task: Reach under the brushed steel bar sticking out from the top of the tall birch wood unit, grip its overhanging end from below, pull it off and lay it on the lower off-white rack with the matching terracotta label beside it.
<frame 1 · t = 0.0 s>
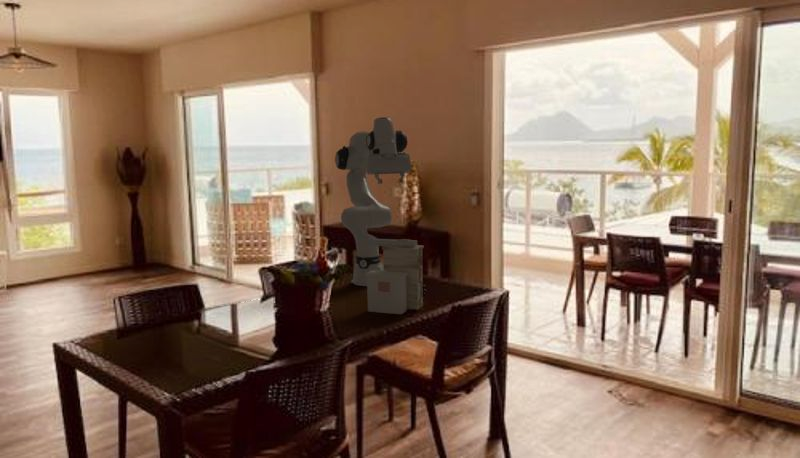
hand: (390, 183, 261), 52 cm above the table, tool tilted 20°, fingers open, 8 cm apart
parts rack: (387, 311, 251), on the table
valve: (411, 299, 271), on the table
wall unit: (403, 306, 258), on the table
bar: (391, 245, 256), point 26 cm above the table, touching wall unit
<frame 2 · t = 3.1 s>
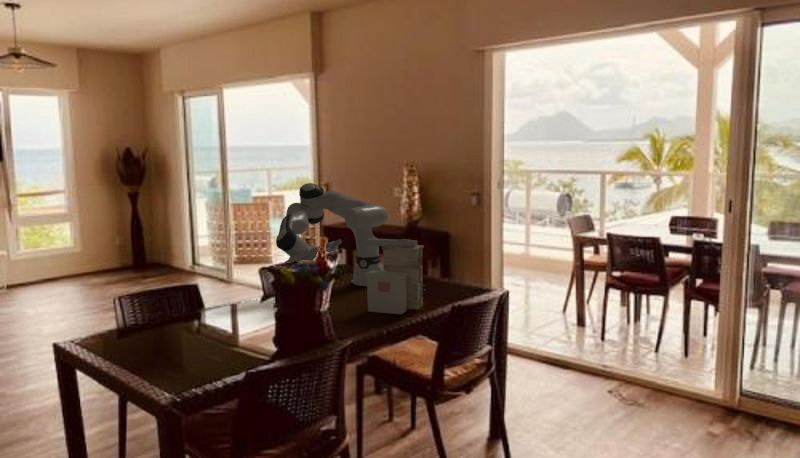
hand: (335, 242, 265), 26 cm above the table, tool pointing upward, fingers open, 8 cm apart
nothing on the table moved.
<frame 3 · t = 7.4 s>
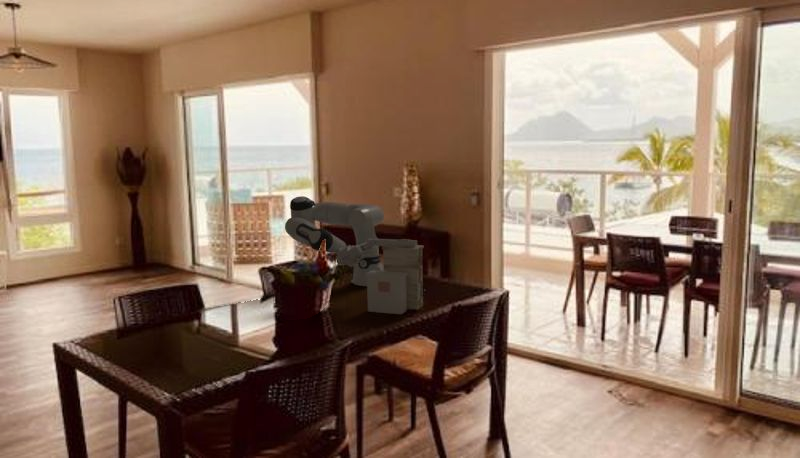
hand: (375, 241, 259), 28 cm above the table, tool pointing upward, fingers closed on bar, 3 cm apart
bar: (391, 245, 256), point 26 cm above the table, touching gripper, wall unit
everything else where it was.
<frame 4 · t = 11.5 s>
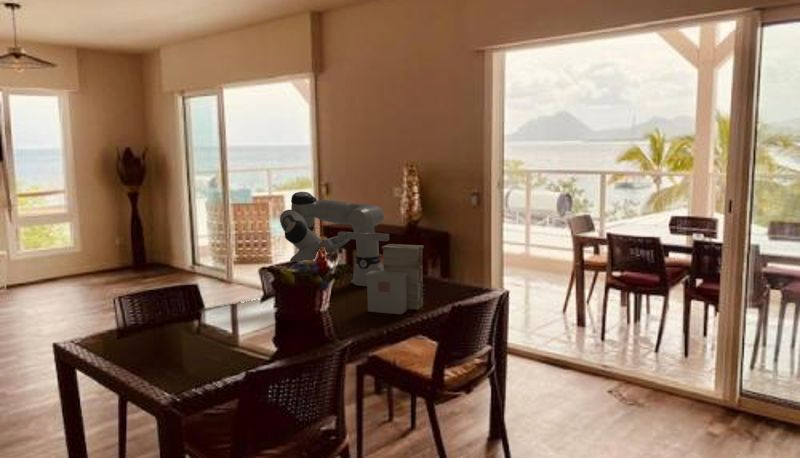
hand: (347, 234, 253), 32 cm above the table, tool pointing upward, fingers closed on bar, 3 cm apart
bar: (363, 239, 250), point 30 cm above the table, touching gripper
everything else where it was.
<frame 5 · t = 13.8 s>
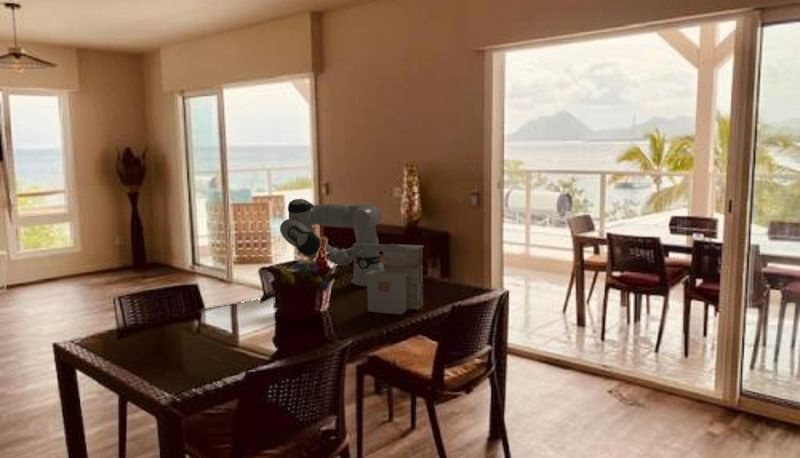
hand: (362, 245, 251), 27 cm above the table, tool pointing upward, fingers closed on bar, 3 cm apart
bar: (378, 250, 249), point 25 cm above the table, touching gripper
when the fingers open (19 cm above the table, at t = 15.8 s): bar drops 1 cm, resting on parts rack.
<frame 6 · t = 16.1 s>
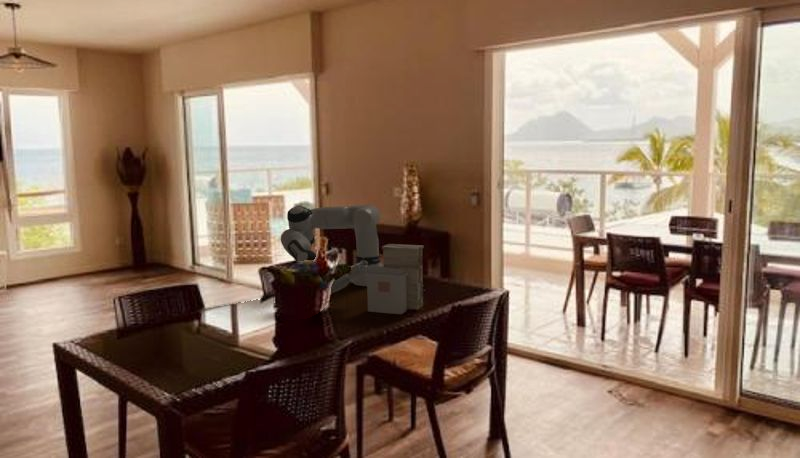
hand: (363, 264, 252), 19 cm above the table, tool pointing upward, fingers open, 6 cm apart
bar: (379, 272, 250), point 16 cm above the table, touching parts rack
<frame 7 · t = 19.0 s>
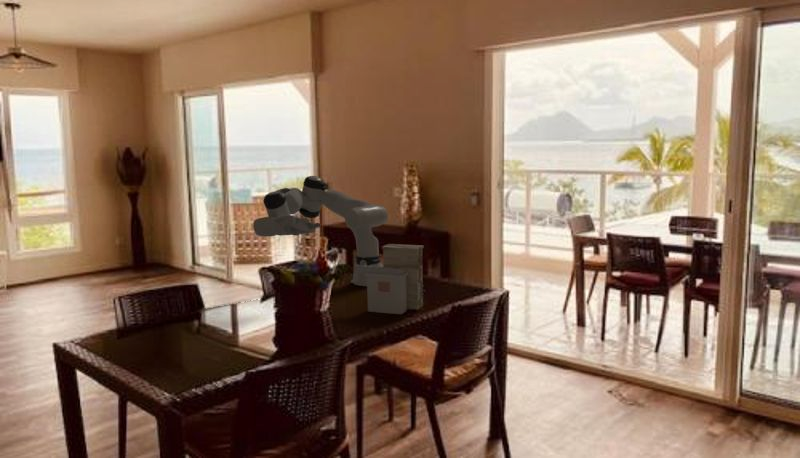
hand: (314, 222, 258), 36 cm above the table, tool horizontal, fingers open, 8 cm apart
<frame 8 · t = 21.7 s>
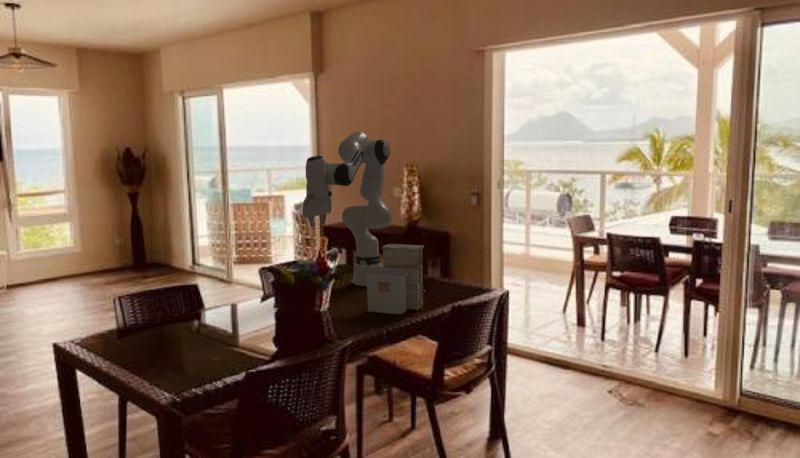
hand: (317, 225, 263), 34 cm above the table, tool pointing down, fingers open, 8 cm apart
at the end: bar inside the target area on the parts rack (2.1 cm from its centre), point 16.0 cm above the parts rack's base; bar touching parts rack; the gripper is holding nothing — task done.
